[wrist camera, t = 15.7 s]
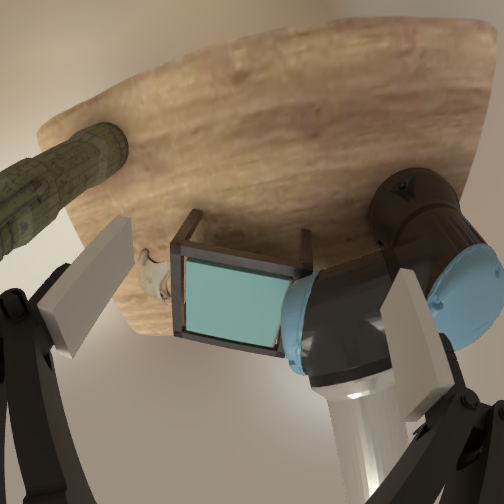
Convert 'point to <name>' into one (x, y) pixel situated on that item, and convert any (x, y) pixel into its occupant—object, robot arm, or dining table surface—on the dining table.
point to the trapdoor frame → (232, 257)
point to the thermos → (55, 181)
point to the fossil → (154, 277)
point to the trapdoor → (234, 301)
